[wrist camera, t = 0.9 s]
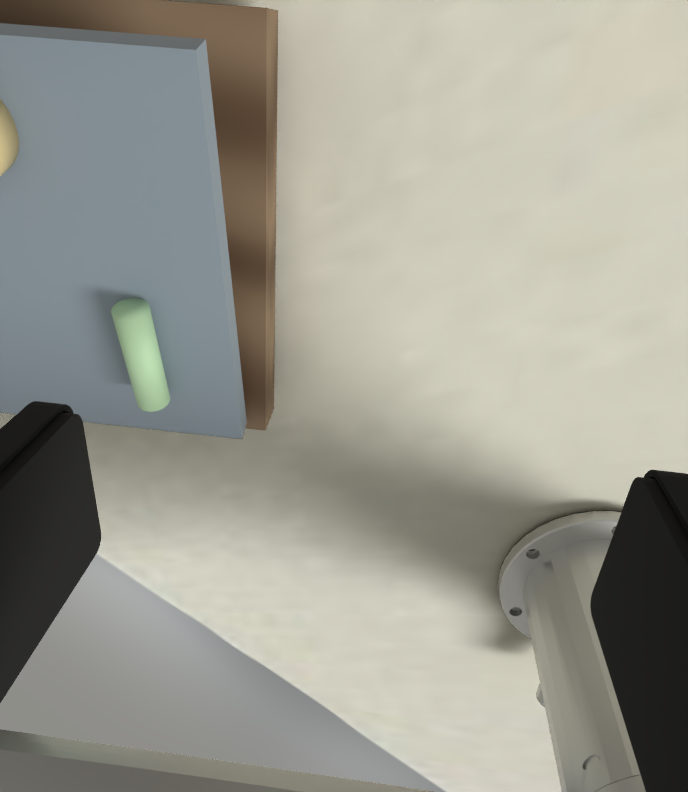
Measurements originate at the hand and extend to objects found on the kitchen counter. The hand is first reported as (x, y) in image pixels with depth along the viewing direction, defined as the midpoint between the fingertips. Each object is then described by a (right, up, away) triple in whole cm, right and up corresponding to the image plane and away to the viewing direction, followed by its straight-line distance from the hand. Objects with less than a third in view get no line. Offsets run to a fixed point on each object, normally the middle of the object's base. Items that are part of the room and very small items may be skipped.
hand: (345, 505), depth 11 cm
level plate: (-14, +8, +17) cm, 24 cm away
